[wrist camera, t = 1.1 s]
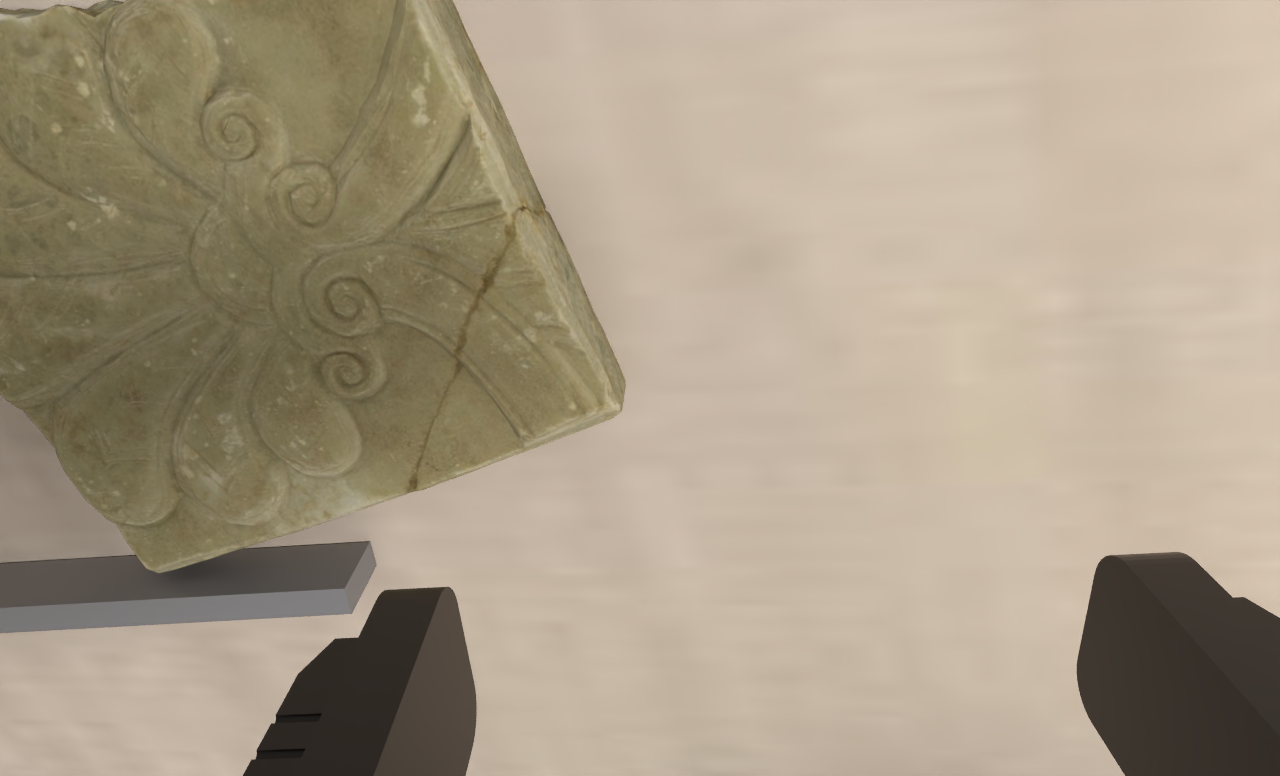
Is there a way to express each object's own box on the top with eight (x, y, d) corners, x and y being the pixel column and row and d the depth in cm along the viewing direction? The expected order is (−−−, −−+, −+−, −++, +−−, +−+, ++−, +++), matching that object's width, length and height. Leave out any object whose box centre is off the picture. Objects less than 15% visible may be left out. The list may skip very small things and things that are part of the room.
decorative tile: (632, 388, 30) (629, 432, 27) (186, 540, 33) (136, 595, 30) (404, -157, 23) (364, -187, 20) (-134, 99, 26) (-245, 109, 23)
